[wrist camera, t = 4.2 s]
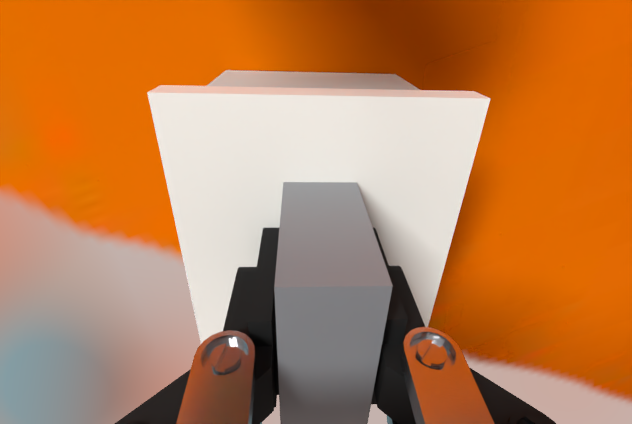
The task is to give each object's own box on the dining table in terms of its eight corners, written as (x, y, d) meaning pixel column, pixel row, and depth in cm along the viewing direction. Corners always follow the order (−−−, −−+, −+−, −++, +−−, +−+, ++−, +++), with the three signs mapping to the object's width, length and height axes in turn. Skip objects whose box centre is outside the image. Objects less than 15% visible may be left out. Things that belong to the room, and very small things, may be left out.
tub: (225, 70, 16) (182, 105, 10) (395, 73, 16) (452, 109, 10) (243, 245, 21) (220, 339, 15) (372, 244, 21) (401, 335, 15)
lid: (170, 80, 10) (26, 156, 5) (462, 86, 11) (631, 161, 5) (214, 332, 16) (171, 499, 10) (406, 328, 16) (461, 486, 11)
